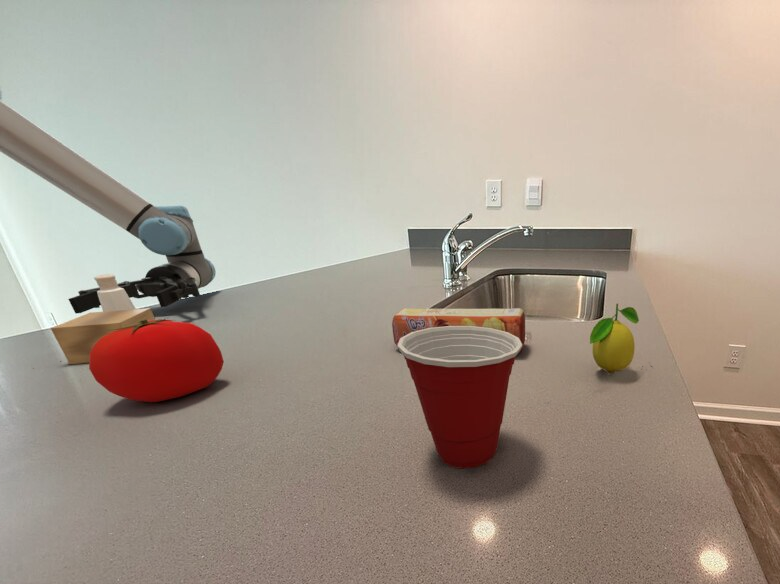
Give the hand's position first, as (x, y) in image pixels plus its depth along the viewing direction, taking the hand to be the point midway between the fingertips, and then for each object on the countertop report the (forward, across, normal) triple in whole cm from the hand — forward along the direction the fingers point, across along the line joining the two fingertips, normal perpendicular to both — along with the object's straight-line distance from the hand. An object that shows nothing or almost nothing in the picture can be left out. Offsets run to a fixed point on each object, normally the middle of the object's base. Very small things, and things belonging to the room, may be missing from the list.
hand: (118, 303), depth 75 cm
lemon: (+44, -79, -6) cm, 90 cm away
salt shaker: (0, 0, -6) cm, 6 cm away
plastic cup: (+57, -57, -6) cm, 80 cm away
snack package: (+28, -60, -6) cm, 66 cm away
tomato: (+32, -21, -6) cm, 39 cm away
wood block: (+11, -4, -6) cm, 13 cm away
